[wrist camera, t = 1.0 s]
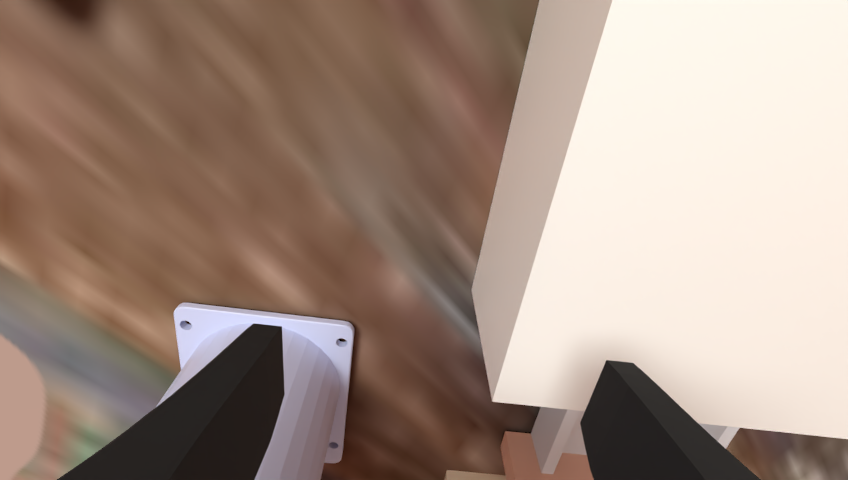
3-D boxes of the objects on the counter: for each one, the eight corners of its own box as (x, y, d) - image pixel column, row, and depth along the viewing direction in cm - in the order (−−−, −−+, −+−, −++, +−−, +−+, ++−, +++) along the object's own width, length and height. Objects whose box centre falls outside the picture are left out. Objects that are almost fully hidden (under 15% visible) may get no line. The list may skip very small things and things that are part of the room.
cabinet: (837, 340, 21) (992, 460, 15) (470, 295, 20) (489, 408, 14) (1059, 34, 15) (1450, 43, 9) (553, -59, 14) (646, -115, 8)
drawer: (690, 464, 25) (755, 572, 20) (500, 446, 24) (520, 553, 19) (773, 333, 21) (881, 429, 16) (546, 306, 20) (587, 398, 15)
